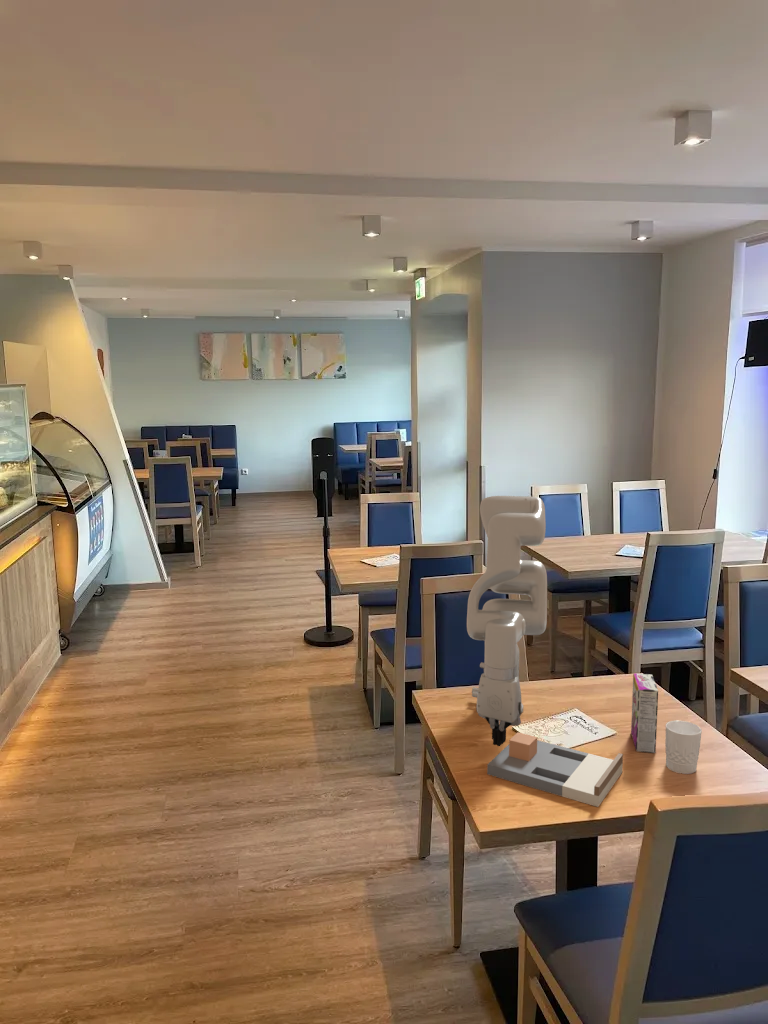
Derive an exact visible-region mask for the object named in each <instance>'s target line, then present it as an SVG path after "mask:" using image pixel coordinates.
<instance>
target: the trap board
mask: <svg viewBox="0 0 768 1024" xmlns="http://www.w3.org/2000/svg"><path fill="white" fill-rule="evenodd" d="M623 760H624V754H623V753H619V752H618V753H617V755H616V756H615V757H614V759H612V758H608V757H604V756H600V755H596V754H592V753H589V752H584V751H580V750H576V749H574V748H570V747H566V746H561V745H558V744H554V743H549V742H546V741H542V740H538V739H537V753H536V754H535V755H534V757H533V758H532V759H531V760H530V761H526V760H522V759H518V758H515V757H511V756H509V744H507V745H506V746H505V747H504V748H503V749H502V750H501V751H500V752H499V753H497V755H496V756H494V757H493V759H491V761H489V762H488V763H487V764H486V765H487V770H486V772H487V775H489V776H491V775H492V777H495V776H496V777H495V778H499V779H503V780H506V781H507V782H508V781H509V782H512V783H515V784H519V785H523V786H525V787H529V788H532V789H536V790H539V791H543V792H546V793H550V794H553V795H556V796H560V797H563V798H566V799H570V800H572V801H577V802H579V803H582V804H583V803H584V804H586V805H589V806H593V807H596V808H598V807H599V806H600V805H601V804H602V802H603V801H604V799H605V798H606V796H607V795H608V794H609V792H610V791H611V790H612V788H613V786H615V785H614V784H615V783H616V782H617V780H619V777H620V776H621V775H622V773H623V764H624V761H623Z"/></svg>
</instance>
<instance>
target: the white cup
mask: <svg viewBox="0 0 768 1024" xmlns="http://www.w3.org/2000/svg"><path fill="white" fill-rule="evenodd" d="M701 739H702V728H701V727H700V726H699V725H698V724H696V723H693V722H690V721H685V720H678V719H677V720H676V719H675V720H670V721H668V722H665V740H664V741H665V743H664V744H665V766H666V767H667V769H668V770H669V771H672V772H674V773H677V774H681V773H682V775H683V774H684V775H688V774H694V773H696V772H697V767H698V760H699V754H700V749H701Z"/></svg>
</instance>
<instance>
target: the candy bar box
mask: <svg viewBox="0 0 768 1024" xmlns="http://www.w3.org/2000/svg"><path fill="white" fill-rule="evenodd" d="M632 674H633V675H632V677H633V678H632V696H631V697H632V698H631V699H632V700H631V726H630V733H631V737H632V740H633V744H634V747H635V752H639V753H648V754H655V753H657V752H656V749H657V728H658V707H659V706H658V705H659V701H658V700H659V689H658V687H657V684H656V681H655V679H654V676H653V674H649V673H637V672H635V673H632Z"/></svg>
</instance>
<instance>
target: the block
mask: <svg viewBox="0 0 768 1024" xmlns="http://www.w3.org/2000/svg"><path fill="white" fill-rule="evenodd" d="M537 740H538V737H537V736H533V735H531V734H526V733H522V732H519V731H517V732H516V733H515V734H514V735H513V736H512V737H511V738H510V739H509V741H508V745H509V756H511V757H515V758H518V759H522V760H526V761H530V760H531V759H532V758H533V757H534V755H535V754H536V753H537Z"/></svg>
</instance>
